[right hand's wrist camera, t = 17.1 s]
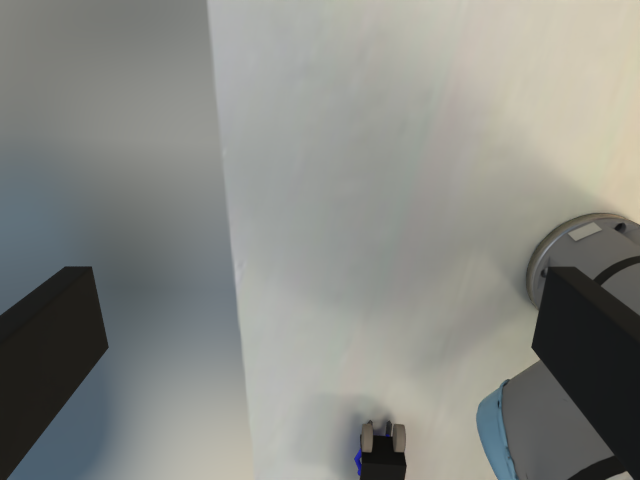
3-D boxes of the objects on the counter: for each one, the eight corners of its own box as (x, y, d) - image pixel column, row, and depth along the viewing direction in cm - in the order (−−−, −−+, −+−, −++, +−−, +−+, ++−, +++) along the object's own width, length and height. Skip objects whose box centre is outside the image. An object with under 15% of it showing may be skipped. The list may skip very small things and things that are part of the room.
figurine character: (355, 403, 64) (350, 487, 67) (360, 439, 56) (354, 531, 60) (401, 405, 64) (393, 488, 68) (411, 441, 56) (402, 532, 60)
